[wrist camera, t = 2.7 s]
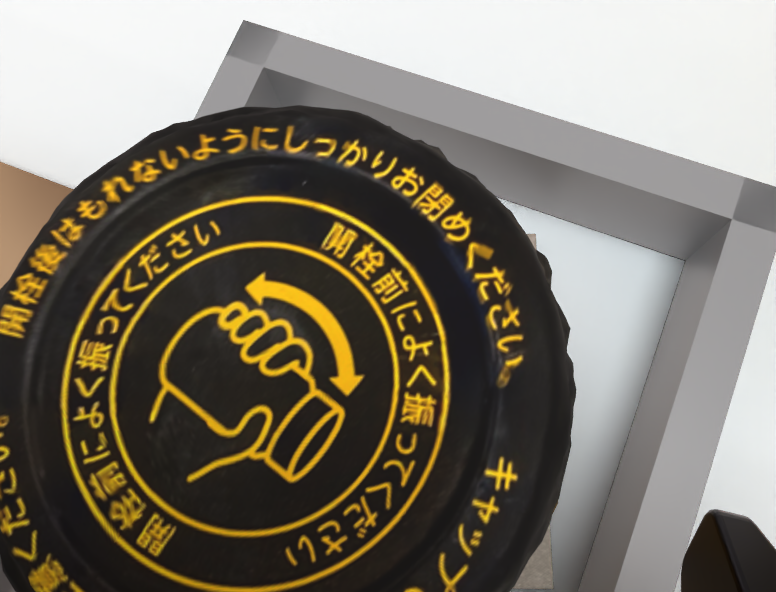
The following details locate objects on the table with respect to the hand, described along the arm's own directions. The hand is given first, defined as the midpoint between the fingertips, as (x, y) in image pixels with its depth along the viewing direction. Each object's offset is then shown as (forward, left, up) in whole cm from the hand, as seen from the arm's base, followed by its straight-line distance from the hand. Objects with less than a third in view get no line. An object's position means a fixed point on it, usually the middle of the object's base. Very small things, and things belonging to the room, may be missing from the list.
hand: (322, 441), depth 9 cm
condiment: (+1, 0, -9) cm, 9 cm away
